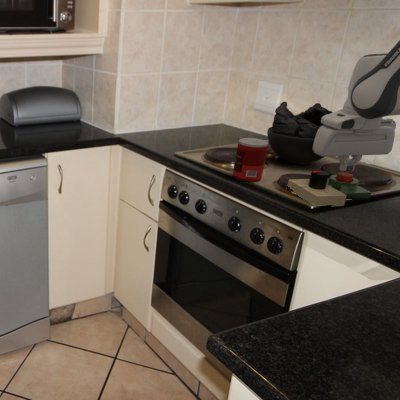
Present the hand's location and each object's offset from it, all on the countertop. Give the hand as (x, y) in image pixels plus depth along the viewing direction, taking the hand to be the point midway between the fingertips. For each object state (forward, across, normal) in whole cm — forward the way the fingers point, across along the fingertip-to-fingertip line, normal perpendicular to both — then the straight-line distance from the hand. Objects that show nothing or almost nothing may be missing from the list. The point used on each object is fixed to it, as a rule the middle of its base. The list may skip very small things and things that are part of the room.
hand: (346, 170), depth 126 cm
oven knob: (+3, +10, +3) cm, 10 cm away
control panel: (+6, +10, +3) cm, 12 cm away
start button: (+3, 0, 0) cm, 3 cm away
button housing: (+6, 0, 0) cm, 6 cm away
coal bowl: (+7, -4, -25) cm, 26 cm away
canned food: (+7, +20, -13) cm, 25 cm away
